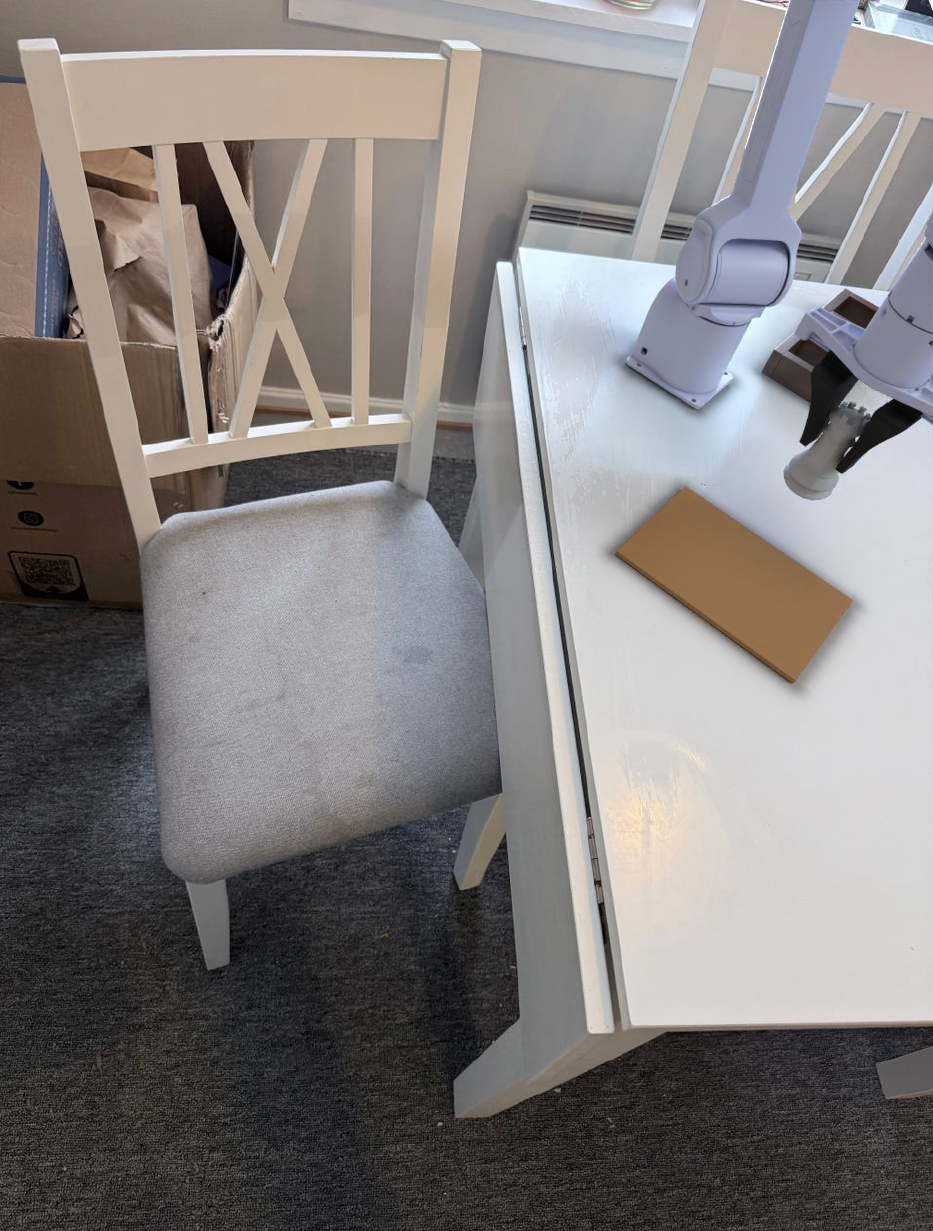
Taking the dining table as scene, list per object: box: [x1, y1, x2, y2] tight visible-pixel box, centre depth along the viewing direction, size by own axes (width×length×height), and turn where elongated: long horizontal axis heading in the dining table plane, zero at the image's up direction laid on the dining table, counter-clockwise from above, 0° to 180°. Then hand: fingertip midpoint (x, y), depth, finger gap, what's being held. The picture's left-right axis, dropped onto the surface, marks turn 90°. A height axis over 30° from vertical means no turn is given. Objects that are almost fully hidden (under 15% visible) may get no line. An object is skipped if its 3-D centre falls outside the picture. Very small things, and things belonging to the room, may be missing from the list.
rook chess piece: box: [783, 401, 872, 501], centre depth 69 cm, size 4×4×8 cm
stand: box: [761, 287, 880, 403], centre depth 96 cm, size 7×20×3 cm, turn 140°
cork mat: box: [615, 485, 854, 684], centre depth 74 cm, size 18×12×1 cm, turn 50°
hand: (826, 453), depth 69 cm, fingers closed on rook chess piece, 3 cm apart
